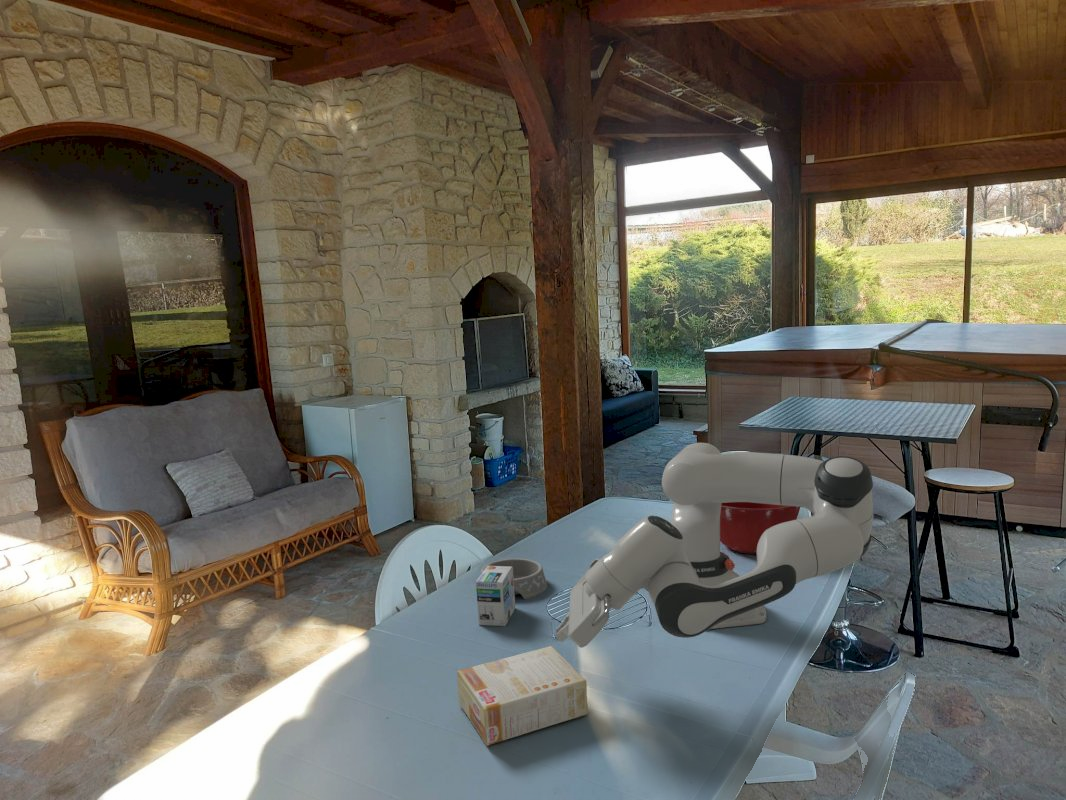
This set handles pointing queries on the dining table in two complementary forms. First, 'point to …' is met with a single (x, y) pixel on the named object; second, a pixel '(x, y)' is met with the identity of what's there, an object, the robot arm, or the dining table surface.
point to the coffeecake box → (521, 694)
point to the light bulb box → (495, 595)
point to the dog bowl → (524, 576)
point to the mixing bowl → (750, 523)
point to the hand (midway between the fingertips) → (558, 636)
